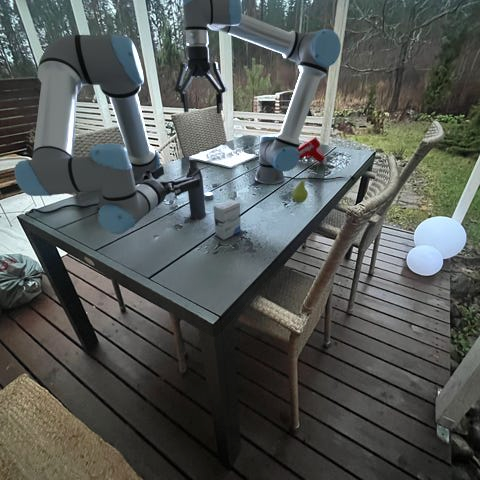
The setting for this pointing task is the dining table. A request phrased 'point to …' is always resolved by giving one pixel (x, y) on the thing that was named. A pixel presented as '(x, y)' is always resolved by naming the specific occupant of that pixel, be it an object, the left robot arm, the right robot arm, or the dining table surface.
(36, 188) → the left robot arm
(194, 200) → the bottle
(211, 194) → the cap
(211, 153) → the relief map
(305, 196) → the fruit
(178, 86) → the right robot arm
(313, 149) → the toy gun
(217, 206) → the ink box
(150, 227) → the dining table surface
